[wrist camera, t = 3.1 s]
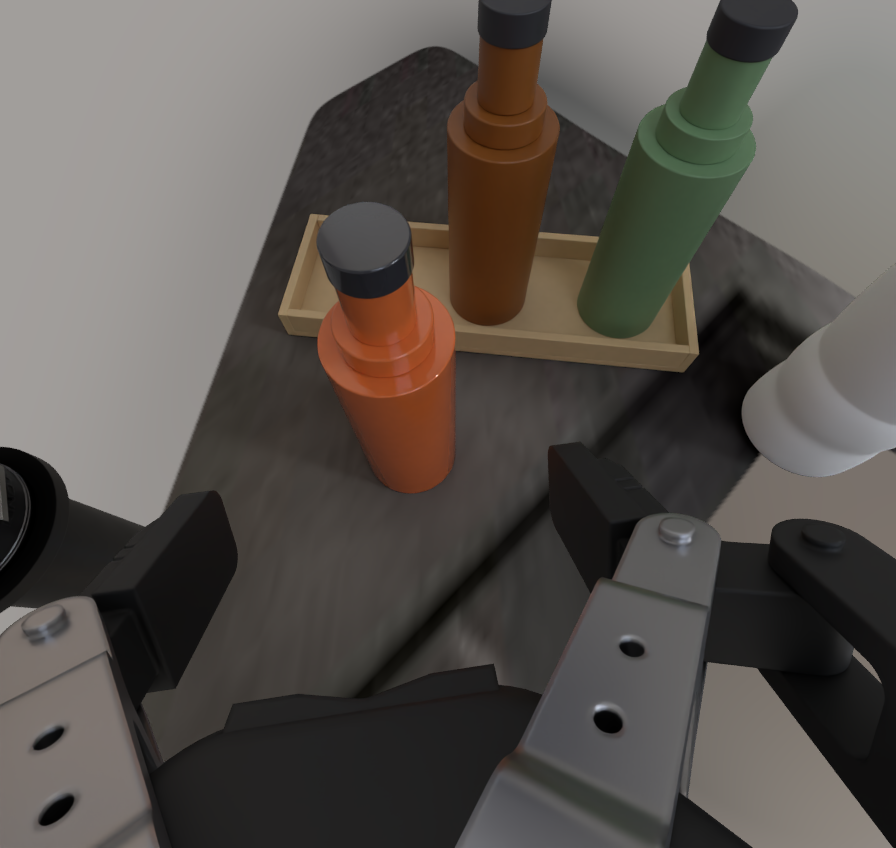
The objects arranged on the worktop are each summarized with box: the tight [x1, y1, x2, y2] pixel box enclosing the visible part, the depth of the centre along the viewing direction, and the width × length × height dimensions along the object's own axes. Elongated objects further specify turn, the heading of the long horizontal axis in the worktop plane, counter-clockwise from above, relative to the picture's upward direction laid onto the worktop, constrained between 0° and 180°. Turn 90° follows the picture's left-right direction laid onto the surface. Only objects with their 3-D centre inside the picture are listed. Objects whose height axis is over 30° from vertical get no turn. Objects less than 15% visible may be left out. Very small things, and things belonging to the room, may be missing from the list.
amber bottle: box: [447, 0, 560, 326], centre depth 26 cm, size 5×5×18 cm
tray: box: [278, 214, 699, 372], centre depth 34 cm, size 27×9×2 cm, turn 83°
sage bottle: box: [577, 0, 798, 338], centre depth 26 cm, size 5×5×18 cm
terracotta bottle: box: [316, 202, 456, 493], centre depth 22 cm, size 5×5×18 cm
